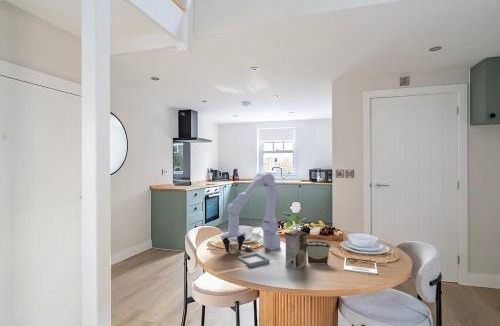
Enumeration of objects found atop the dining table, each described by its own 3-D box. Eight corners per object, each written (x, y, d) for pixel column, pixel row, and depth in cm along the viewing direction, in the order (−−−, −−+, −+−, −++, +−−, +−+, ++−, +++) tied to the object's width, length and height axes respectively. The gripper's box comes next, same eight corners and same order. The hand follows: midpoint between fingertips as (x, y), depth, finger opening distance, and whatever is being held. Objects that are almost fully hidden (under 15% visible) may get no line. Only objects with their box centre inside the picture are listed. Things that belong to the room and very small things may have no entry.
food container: (328, 260, 148) (328, 240, 148) (330, 264, 142) (330, 244, 142) (304, 259, 149) (304, 239, 149) (305, 263, 143) (305, 243, 143)
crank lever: (252, 248, 160) (252, 239, 160) (250, 249, 158) (250, 241, 158) (234, 245, 166) (234, 237, 166) (231, 246, 163) (232, 238, 163)
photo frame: (343, 268, 134) (345, 256, 151) (343, 271, 134) (345, 258, 151) (377, 273, 129) (375, 260, 146) (377, 275, 129) (375, 262, 146)
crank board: (245, 246, 170) (245, 243, 170) (257, 252, 159) (257, 249, 159) (222, 250, 162) (222, 247, 162) (233, 257, 151) (233, 254, 151)
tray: (256, 256, 152) (256, 252, 152) (269, 263, 143) (269, 259, 143) (237, 260, 146) (237, 256, 146) (249, 267, 136) (249, 263, 136)
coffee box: (296, 261, 145) (296, 229, 145) (306, 265, 141) (307, 232, 140) (284, 266, 139) (285, 233, 139) (295, 270, 134) (295, 235, 134)
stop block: (234, 250, 159) (234, 241, 159) (238, 252, 156) (238, 243, 156) (228, 251, 157) (228, 242, 157) (231, 254, 153) (232, 244, 153)
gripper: (241, 222, 163) (241, 246, 163) (218, 225, 156) (218, 250, 156) (247, 225, 157) (247, 250, 157) (224, 228, 150) (223, 254, 150)
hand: (233, 250), depth 156 cm, fingers open, 7 cm apart
